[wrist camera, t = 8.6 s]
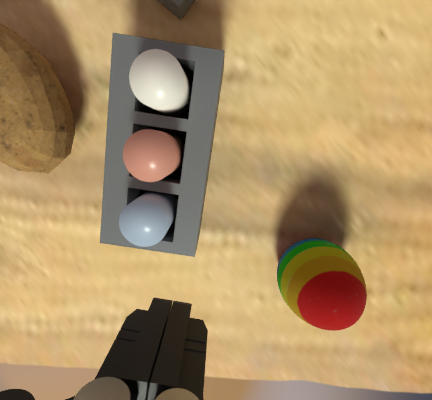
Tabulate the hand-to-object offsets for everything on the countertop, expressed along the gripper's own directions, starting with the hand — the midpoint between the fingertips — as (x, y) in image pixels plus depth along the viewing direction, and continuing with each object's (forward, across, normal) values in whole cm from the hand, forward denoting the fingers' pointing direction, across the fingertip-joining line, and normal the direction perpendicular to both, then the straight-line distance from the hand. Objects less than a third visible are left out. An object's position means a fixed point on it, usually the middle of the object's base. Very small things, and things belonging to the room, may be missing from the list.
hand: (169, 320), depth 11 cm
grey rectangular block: (+21, +4, -4) cm, 22 cm away
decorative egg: (+21, -13, +6) cm, 25 cm away
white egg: (+18, +5, -10) cm, 21 cm away
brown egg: (+18, +4, -4) cm, 19 cm away
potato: (+21, +19, -6) cm, 29 cm away
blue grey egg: (+18, +4, +1) cm, 18 cm away
